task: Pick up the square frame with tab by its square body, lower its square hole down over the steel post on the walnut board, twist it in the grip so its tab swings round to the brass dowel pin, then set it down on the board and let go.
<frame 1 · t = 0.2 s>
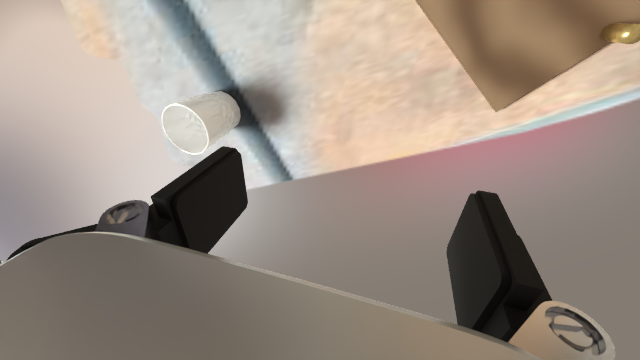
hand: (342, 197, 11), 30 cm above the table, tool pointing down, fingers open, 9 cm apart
white cup: (224, 109, 46), on the table
dowel pin: (610, 31, 27), resting on board
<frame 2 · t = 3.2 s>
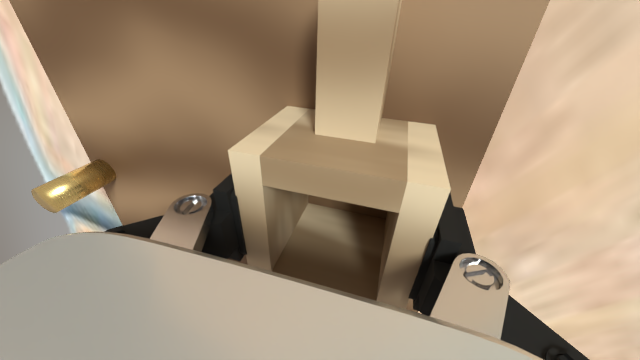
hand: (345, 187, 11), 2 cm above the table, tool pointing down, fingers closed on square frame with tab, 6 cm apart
dowel pin: (105, 170, 17), resting on board
board: (250, 177, 15), on the table
when the fingers open (3 cm above the table, at t = 10.0 s): square frame with tab stays where it is, resting on board.
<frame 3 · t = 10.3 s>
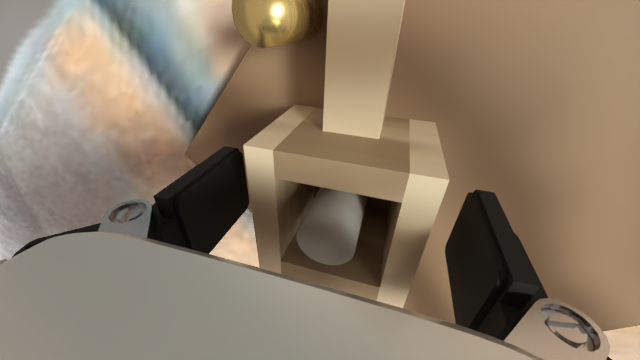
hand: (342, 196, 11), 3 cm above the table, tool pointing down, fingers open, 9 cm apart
dowel pin: (302, 14, 10), resting on board
board: (476, 169, 12), on the table
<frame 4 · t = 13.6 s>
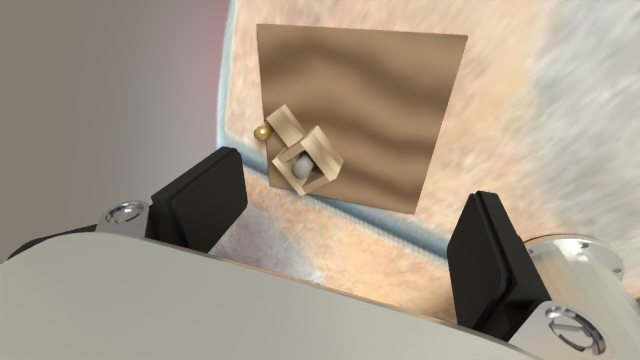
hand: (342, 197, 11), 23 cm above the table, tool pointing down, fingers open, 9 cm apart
square frame with tab: (279, 108, 34), point 1 cm above the table, touching board
dowel pin: (271, 125, 35), resting on board
board: (345, 126, 34), on the table
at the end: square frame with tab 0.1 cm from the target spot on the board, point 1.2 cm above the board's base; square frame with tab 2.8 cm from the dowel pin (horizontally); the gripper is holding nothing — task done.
